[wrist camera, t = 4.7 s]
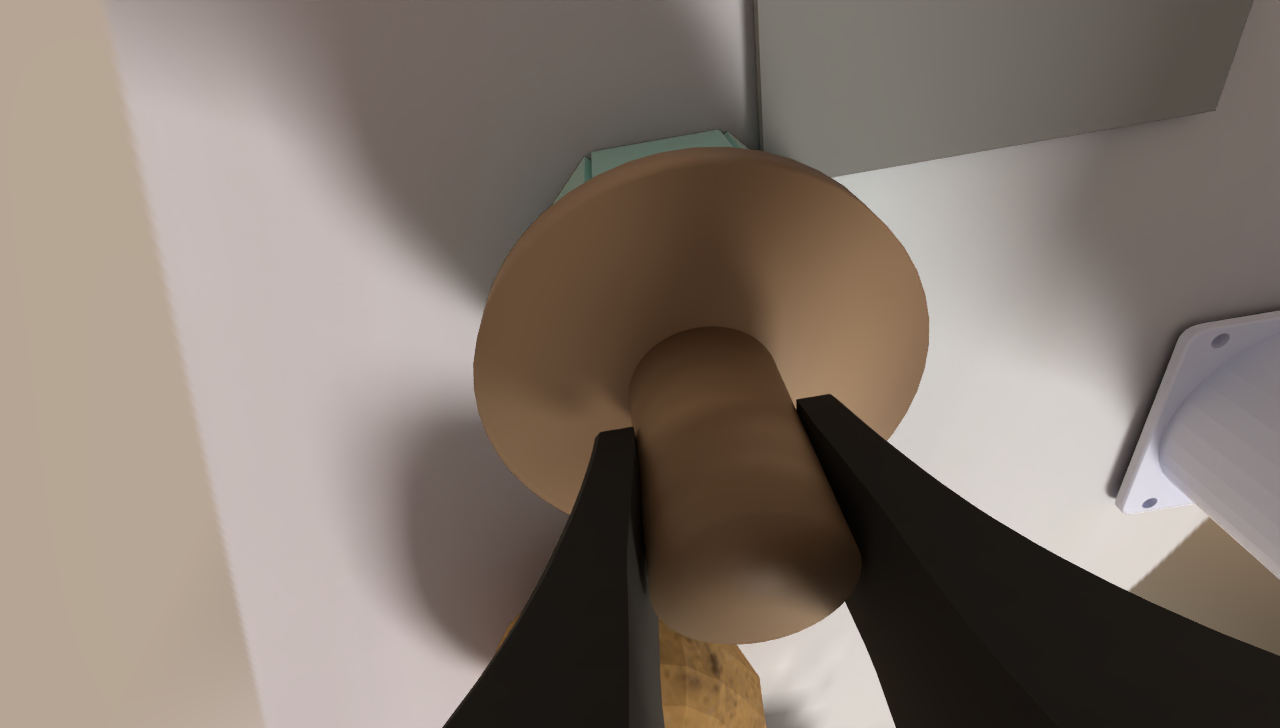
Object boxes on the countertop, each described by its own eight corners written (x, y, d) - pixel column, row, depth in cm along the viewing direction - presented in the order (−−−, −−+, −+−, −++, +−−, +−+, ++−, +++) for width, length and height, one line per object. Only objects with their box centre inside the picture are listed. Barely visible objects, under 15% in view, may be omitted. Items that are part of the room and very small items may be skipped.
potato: (738, 472, 21) (809, 711, 14) (739, 693, 29) (786, 916, 22) (451, 506, 21) (389, 763, 14) (530, 719, 29) (513, 950, 22)
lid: (951, 124, 11) (1219, 267, 6) (871, 486, 16) (984, 705, 11) (429, 170, 10) (315, 353, 6) (521, 522, 16) (498, 761, 11)
